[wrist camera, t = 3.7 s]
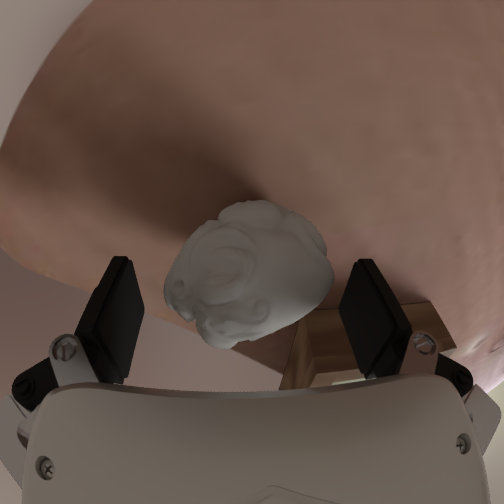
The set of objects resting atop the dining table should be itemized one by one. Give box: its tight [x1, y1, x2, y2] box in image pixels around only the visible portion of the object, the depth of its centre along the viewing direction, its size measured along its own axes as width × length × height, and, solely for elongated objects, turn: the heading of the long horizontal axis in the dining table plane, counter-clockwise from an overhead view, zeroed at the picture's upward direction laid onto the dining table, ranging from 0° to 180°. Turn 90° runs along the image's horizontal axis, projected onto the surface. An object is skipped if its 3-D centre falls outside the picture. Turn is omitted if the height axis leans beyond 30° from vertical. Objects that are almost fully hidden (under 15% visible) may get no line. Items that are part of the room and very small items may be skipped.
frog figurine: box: [164, 200, 334, 349], centre depth 12 cm, size 6×7×7 cm
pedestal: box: [278, 302, 457, 391], centre depth 21 cm, size 13×12×5 cm
